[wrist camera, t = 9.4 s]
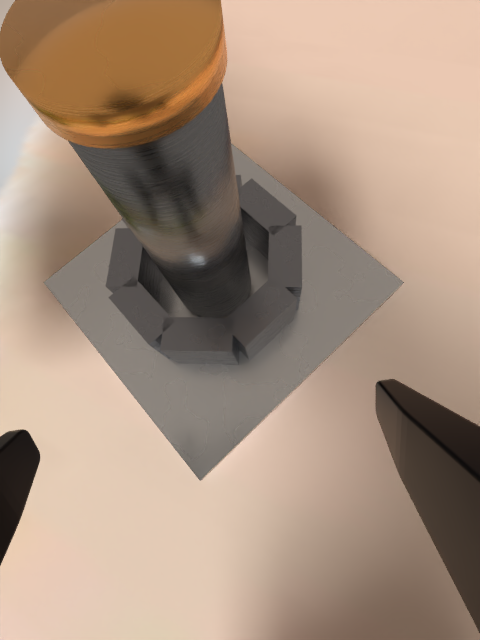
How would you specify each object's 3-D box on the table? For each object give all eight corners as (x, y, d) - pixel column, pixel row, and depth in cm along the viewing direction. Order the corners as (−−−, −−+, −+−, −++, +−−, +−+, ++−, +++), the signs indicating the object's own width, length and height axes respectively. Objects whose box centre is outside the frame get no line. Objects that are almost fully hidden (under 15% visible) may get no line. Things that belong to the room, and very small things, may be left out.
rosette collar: (202, 479, 17) (184, 490, 13) (49, 285, 21) (5, 257, 17) (400, 286, 19) (427, 254, 15) (225, 144, 23) (216, 94, 19)
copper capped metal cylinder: (210, 338, 18) (80, 147, 6) (158, 283, 20) (-40, 27, 7) (271, 283, 19) (269, 4, 7) (217, 232, 20) (128, -83, 8)
